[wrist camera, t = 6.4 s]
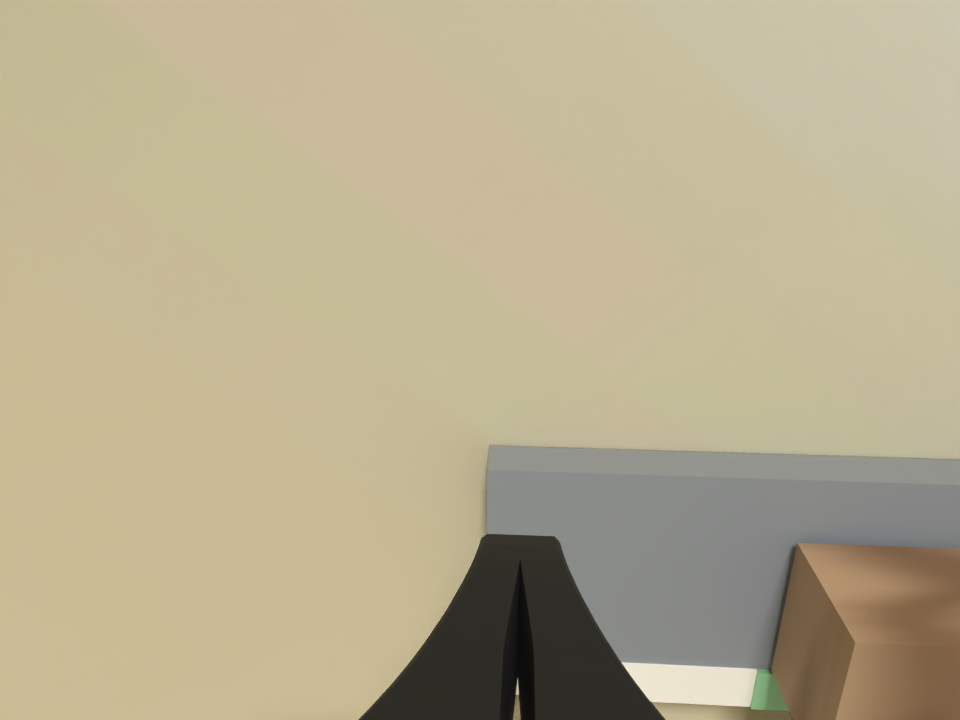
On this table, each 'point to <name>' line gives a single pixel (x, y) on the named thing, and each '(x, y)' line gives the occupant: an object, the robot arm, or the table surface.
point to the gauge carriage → (871, 634)
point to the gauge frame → (709, 546)
